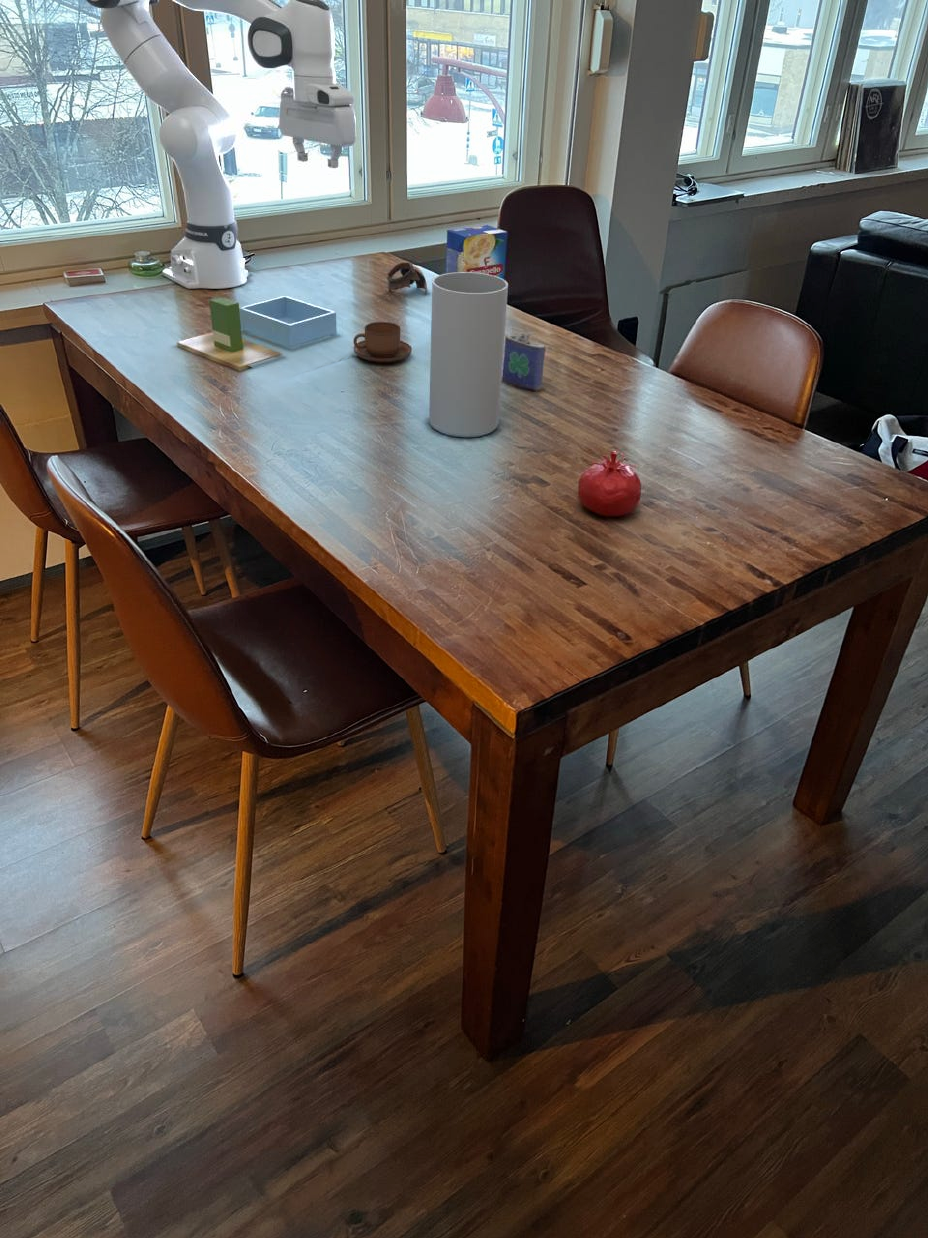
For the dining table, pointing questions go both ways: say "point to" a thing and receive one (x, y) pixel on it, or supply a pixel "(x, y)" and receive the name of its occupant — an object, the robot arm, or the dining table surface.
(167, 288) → the dining table surface
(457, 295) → the cylinder vase
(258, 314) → the basin
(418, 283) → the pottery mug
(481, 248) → the blue food box
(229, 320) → the block
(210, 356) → the board
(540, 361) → the flask
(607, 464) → the pomegranate
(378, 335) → the cup and saucer
